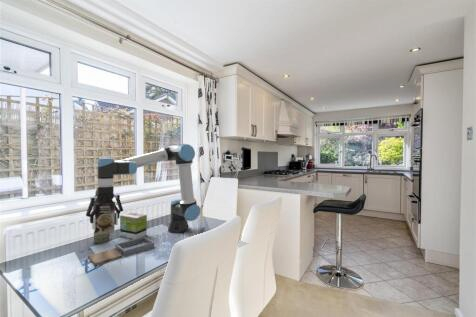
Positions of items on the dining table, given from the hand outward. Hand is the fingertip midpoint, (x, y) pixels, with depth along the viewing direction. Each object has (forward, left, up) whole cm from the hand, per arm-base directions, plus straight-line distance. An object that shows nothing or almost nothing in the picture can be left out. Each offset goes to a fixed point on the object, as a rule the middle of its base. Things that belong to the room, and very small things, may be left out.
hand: (105, 226), depth 122 cm
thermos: (-7, -28, -17) cm, 33 cm away
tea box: (-25, -23, -17) cm, 38 cm away
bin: (-17, -1, -17) cm, 24 cm away
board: (0, 0, -17) cm, 17 cm away
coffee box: (0, 0, -3) cm, 3 cm away
